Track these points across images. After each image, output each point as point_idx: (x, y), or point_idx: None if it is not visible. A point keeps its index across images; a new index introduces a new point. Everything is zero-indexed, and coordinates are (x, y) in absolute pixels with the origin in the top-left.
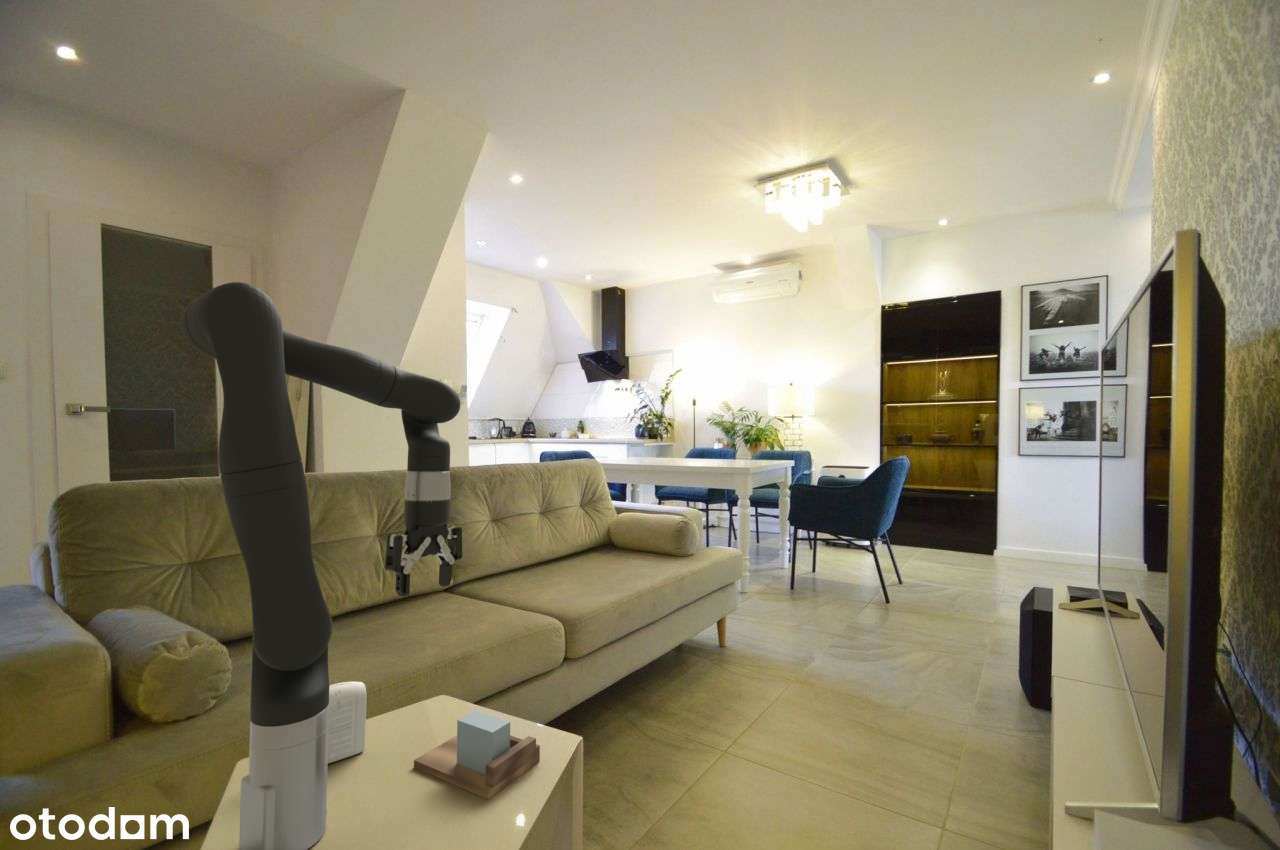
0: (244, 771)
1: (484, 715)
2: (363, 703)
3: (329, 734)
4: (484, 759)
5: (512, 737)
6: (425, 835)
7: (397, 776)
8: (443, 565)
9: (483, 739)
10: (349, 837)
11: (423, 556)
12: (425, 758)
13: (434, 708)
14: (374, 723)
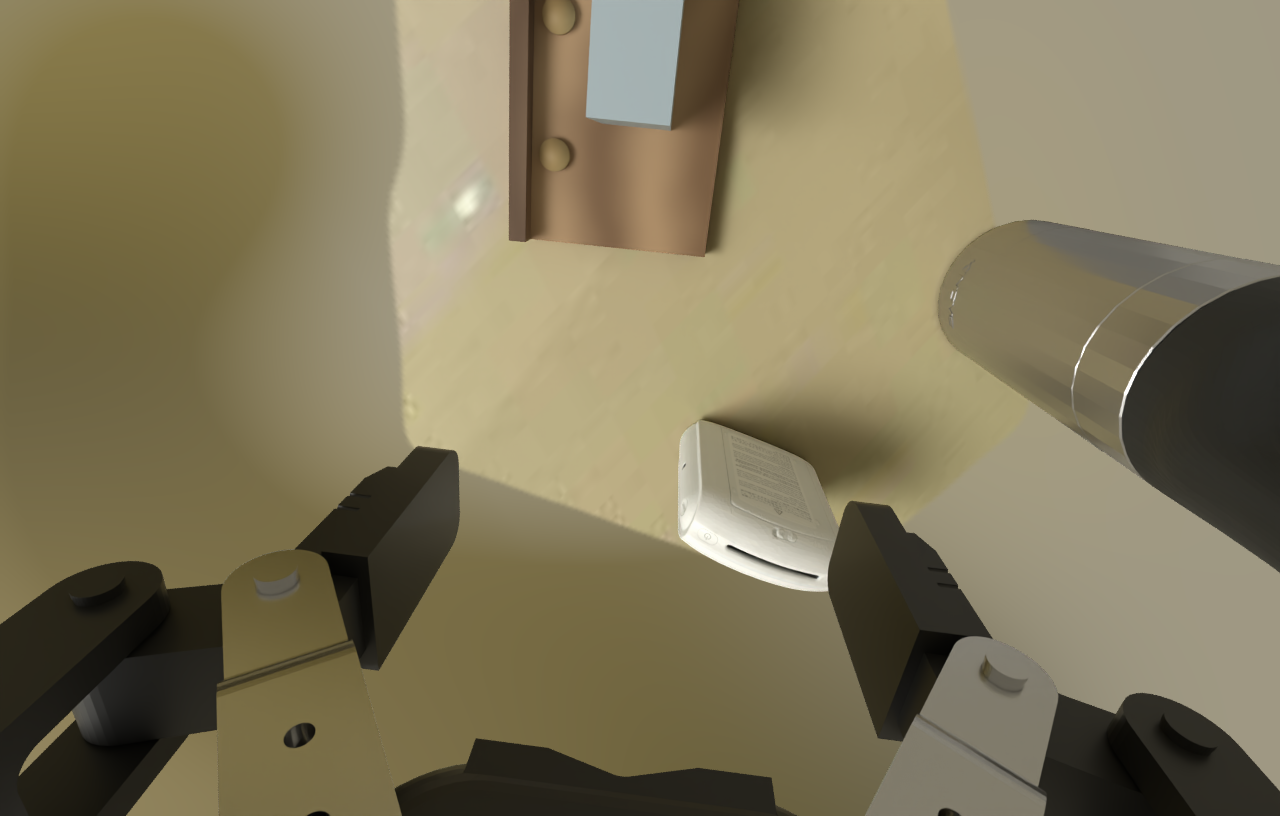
0: None
1: (601, 52)
2: (709, 477)
3: (783, 477)
4: None
5: (516, 25)
6: None
7: (749, 261)
8: (374, 616)
9: None
10: (976, 170)
11: (750, 779)
12: (687, 233)
13: (461, 425)
14: (591, 496)
